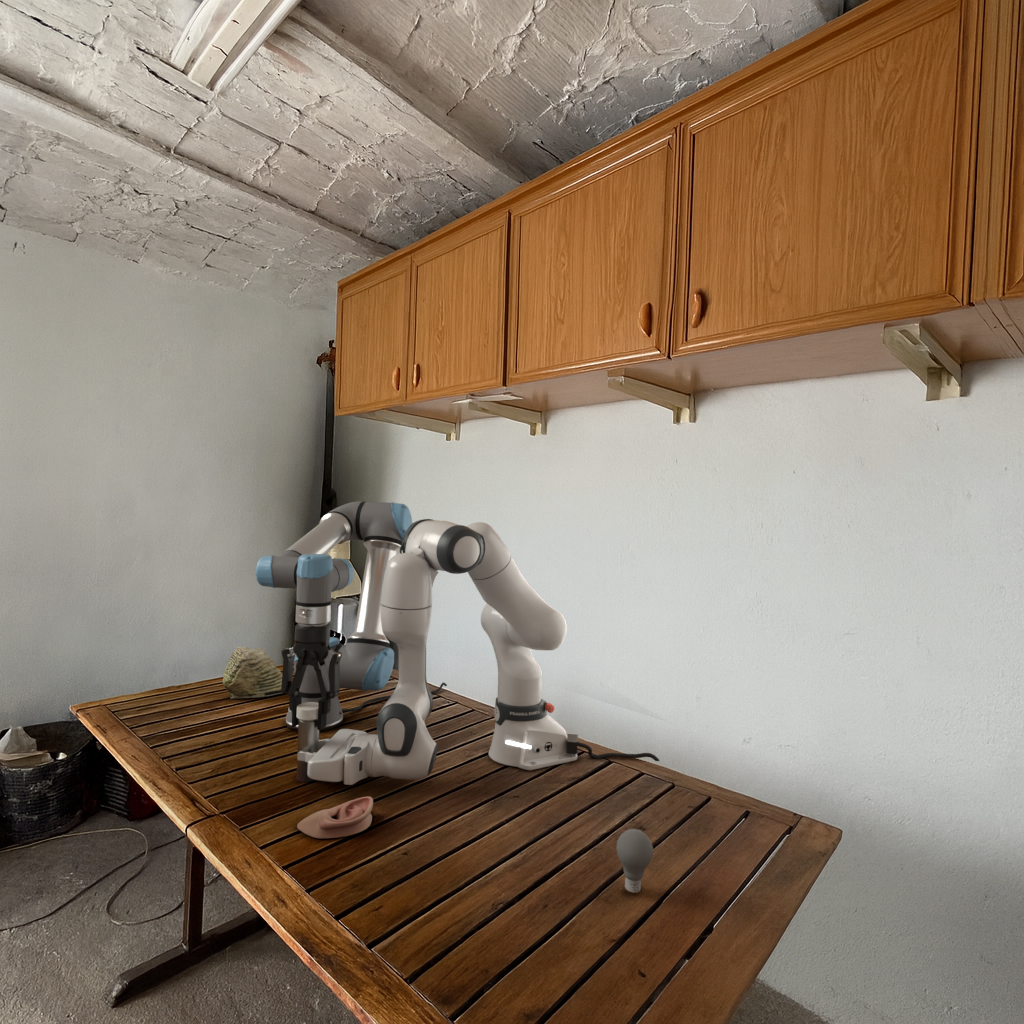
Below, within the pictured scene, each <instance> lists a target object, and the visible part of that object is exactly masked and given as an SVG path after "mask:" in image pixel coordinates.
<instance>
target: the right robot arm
mask: <svg viewBox="0 0 1024 1024" xmlns="http://www.w3.org/2000/svg"><path fill="white" fill-rule="evenodd" d="M439 571H440V572H441V571H442V572H447V573H449V574H453V575H454V574H455V575H461V574H466V573H467V574H468V575H469V578H470V579H471V582H472V583H473V584H474V587H475V588H476V590H477V591H478V593H479V595H480V596H481V598H482V600H483V601H484V602H485V603H486V604H484V606H483V608H482V611H481V613H480V625H481V628H482V630H483V631H484V632H485V633H486V635H487V636H488V638H489V640H490V643H491V645H492V649H493V652H494V655H495V660H496V665H497V695H496V696H497V697H496V698H495V704H494V715H493V716H494V722H495V723H494V730H493V735H492V740H491V743H490V747H489V750H488V752H487V753H488V756H489V758H490V759H491V760H492V761H494V762H496V763H499V764H502V765H505V766H508V767H509V766H510V767H517V768H519V769H522V770H526V771H534V770H538V769H543V768H548V767H551V766H556V765H560V764H565V763H571V762H574V761H577V760H578V747H580V748H584V749H585V750H587V753H588V754H587V755H588V756H589V757H590V758H592V759H596V760H598V759H606V758H607V759H608V758H621V759H622V758H623V759H641V758H642V759H643V758H651V759H652V760H654V761H655V762H660V758H658V757H657V756H656V755H655V754H653V753H651V752H640V753H623V752H608V753H602V754H594V753H593V748H592V747H591V746H590V745H588V744H586V743H583V742H580V741H579V740H578V739H579V737H578V736H579V735H578V734H577V733H568V732H567V731H566V729H565V728H564V727H563V726H562V725H561V724H560V723H559V722H558V721H557V720H555V719H554V718H553V717H552V716H551V715H549V714H552V713H554V711H555V709H556V708H555V706H554V705H553V704H552V703H550V702H548V701H546V700H544V699H542V687H543V686H542V685H543V671H542V668H541V666H540V664H539V663H538V662H537V660H536V659H535V657H534V655H533V654H532V653H533V652H532V650H534V651H554V650H557V649H559V647H561V646H562V644H563V643H564V641H565V639H566V637H567V634H568V633H567V631H568V625H567V621H566V618H565V616H564V615H563V613H561V612H560V611H558V610H557V609H556V608H554V607H553V606H551V605H550V604H549V603H547V602H546V601H545V599H544V598H542V597H541V596H540V595H539V593H538V592H537V591H536V590H535V589H534V587H532V586H531V585H530V584H529V582H528V581H527V580H526V578H525V577H524V576H523V574H522V572H521V571H520V569H519V567H518V565H517V563H516V561H515V560H514V558H513V556H512V554H511V551H509V549H508V547H507V545H506V544H505V542H504V541H503V540H502V537H501V536H499V534H498V533H497V532H496V531H495V529H494V528H493V527H492V525H490V524H488V523H486V522H481V521H478V522H472V523H470V524H468V525H467V526H466V525H462V524H458V523H455V522H452V521H448V520H435V519H431V518H423V519H419V520H416V521H414V522H412V524H411V525H410V526H409V527H408V529H407V530H406V532H405V535H404V537H403V542H402V545H401V547H400V553H399V554H398V555H396V556H394V557H392V558H391V559H390V560H389V562H388V564H387V567H386V570H385V575H384V580H383V586H382V593H381V609H380V616H381V625H382V631H383V633H384V635H385V637H386V638H387V640H388V641H391V642H392V643H394V644H396V646H397V649H398V681H397V684H396V686H395V688H394V690H393V692H392V693H391V695H392V696H391V697H390V698H388V699H387V701H386V702H385V703H384V705H383V706H382V707H381V708H380V710H379V713H378V714H377V718H376V733H377V734H373V733H368V732H366V731H363V730H359V729H351V728H341V729H339V730H338V731H336V733H334V735H333V736H332V737H331V738H323V739H319V749H318V752H317V753H309V752H308V750H301V751H300V752H299V753H298V756H296V760H297V759H298V760H299V761H305V762H307V763H308V770H307V775H308V777H309V778H311V779H314V780H313V781H320V782H329V783H339V782H343V785H347V786H353V785H354V784H357V782H359V781H361V780H364V779H367V778H379V777H388V778H390V779H392V780H421V779H425V778H427V777H429V776H430V775H431V773H432V771H433V770H434V767H435V762H436V759H437V756H438V743H437V742H436V741H435V740H434V739H433V738H432V736H431V734H430V733H429V730H428V728H427V726H426V722H425V721H426V720H427V719H428V718H429V717H430V715H431V714H432V711H433V707H434V699H433V695H432V694H431V690H430V686H429V684H428V681H427V641H428V635H429V630H430V627H431V619H432V612H433V586H434V582H435V579H436V577H437V576H438V574H439Z"/></svg>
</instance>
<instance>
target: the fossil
mask: <svg viewBox="0 0 1024 1024" xmlns="http://www.w3.org/2000/svg"><path fill="white" fill-rule="evenodd" d="M222 676H223V677H222V685H223V687H224V688H225V690H226V691H228V693H229V698H230V699H250V698H264V697H271V696H275V695H281V694H283V693H282V692H281V686H282V672H281V669H279V668H278V667H277V665H276V663H275V662H274V660H273V659H272V658H271V657H270V656H269V655H268V654H267V653H266V652H265V650H264V649H263V648H260V647H258V648H251V647H247V646H246V647H245V646H238V647H237V648H236V649H235V650H233V651H232V653H231V656H230V657H229V659H228V660H227V663H226V666H225V668H224V671H223V675H222Z"/></svg>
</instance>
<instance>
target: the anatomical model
mask: <svg viewBox="0 0 1024 1024" xmlns="http://www.w3.org/2000/svg"><path fill="white" fill-rule="evenodd" d="M373 805H374V799H373V797H372V796H362V797H357V798H355V799H352V800H348V801H346V802H343V803H341V804H338V805H336V806H334V807H331V808H326V809H322V810H319V811H316V812H313V813H312V814H310V815H307V816H306V817H304V818H303V819H301V820H300V821H299V822H298V823H297V825H296V828H297V829H298V830H299V831H300V832H301V833H304V835H306V836H309V837H312V838H314V839H319V840H320V839H334V838H335V839H337V838H342V837H348V836H353V835H356V834H358V833H361V832H363V831H365V830H367V829H368V828H369V827H370V826H371V824H372V821H373V815H372V813H371V812H372V810H373Z"/></svg>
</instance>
